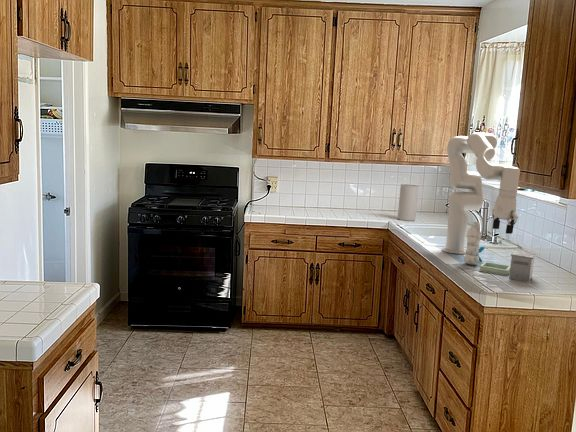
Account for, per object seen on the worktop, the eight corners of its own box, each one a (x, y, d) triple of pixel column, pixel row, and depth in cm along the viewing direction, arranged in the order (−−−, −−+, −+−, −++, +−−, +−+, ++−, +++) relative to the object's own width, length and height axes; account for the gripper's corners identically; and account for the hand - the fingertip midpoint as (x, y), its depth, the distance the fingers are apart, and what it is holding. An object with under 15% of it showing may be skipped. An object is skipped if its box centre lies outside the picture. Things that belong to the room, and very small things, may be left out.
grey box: (511, 273, 249) (514, 250, 248) (532, 277, 245) (536, 253, 243) (507, 278, 240) (510, 254, 238) (529, 282, 236) (532, 257, 234)
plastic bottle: (470, 266, 259) (475, 224, 256) (460, 263, 265) (465, 221, 262) (481, 266, 262) (486, 224, 259) (471, 262, 268) (475, 221, 265)
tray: (484, 266, 261) (485, 261, 261) (510, 270, 255) (511, 265, 255) (479, 270, 251) (480, 265, 251) (506, 275, 245) (507, 270, 245)
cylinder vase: (417, 221, 394) (420, 186, 391) (399, 220, 394) (402, 185, 391) (412, 219, 407) (416, 185, 403) (395, 218, 406) (399, 183, 403)
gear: (473, 254, 280) (486, 243, 273) (480, 264, 278) (494, 253, 270) (460, 259, 273) (473, 248, 266) (467, 269, 271) (480, 258, 264)
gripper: (488, 190, 259) (483, 226, 262) (512, 196, 243) (507, 235, 246) (502, 191, 261) (497, 227, 264) (527, 197, 245) (521, 235, 248)
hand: (502, 231), depth 255 cm, fingers open, 9 cm apart
